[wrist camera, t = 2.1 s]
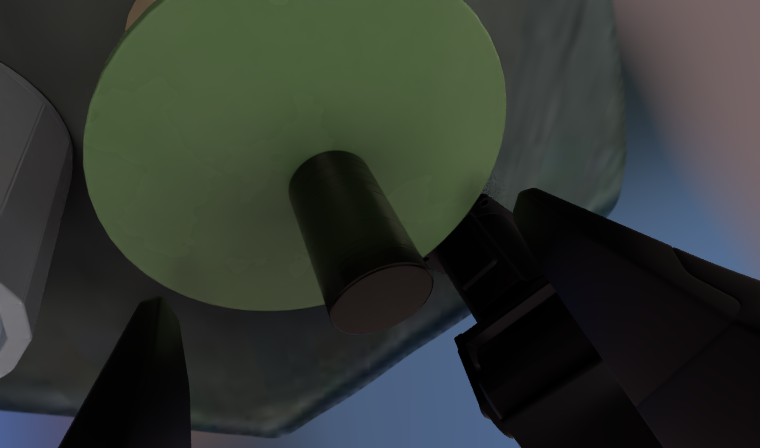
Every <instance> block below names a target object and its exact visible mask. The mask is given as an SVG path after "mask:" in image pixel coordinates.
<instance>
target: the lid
mask: <svg viewBox="0 0 760 448" xmlns="http://www.w3.org/2000/svg"><path fill="white" fill-rule="evenodd" d="M505 121H506V91H505V81H504V76H503V72H502V68H501V64H500V60H499V56H498V54H497V51H496V49H495V47H494V44H493V42H492V40H491V37H490V35H489V33H488V32H487V30H486V28H485V27H484V25H483V24H482V22H481V21H480V19H479V18H478V16H477V15H476V13H475V12H474V11H473V10H472V9H471V7H470V6H469V5H468V4H467V3H466V2H465V1H464V0H156V1H155V2H153V3H152V4H151V5H149V7H148V8H147V9H146V10H145V11H144V12H143V13H142V14H141V15H140V16H139V17H138V19H137V20H136V21H135V22H134V23H133V24H132V25H131V26H130V27H129V28H128V30H127V31H126V32H125V33H124V34H123V36H122V37H121V39H120V40H119V42H118V43H117V45H116V47H115V48H114V50H113V51H112V53H111V54H110V56H109V58H108V59H107V61H106V62H105V64H104V66H103V69H102V71H101V74H100V76H99V79H98V81H97V83H96V86H95V88H94V91H93V93H92V96H91V100H90V104H89V109H88V114H87V119H86V124H85V129H84V134H83V168H84V174H85V179H86V184H87V190H88V194H89V197H90V199H91V202H92V204H93V207H94V209H95V212H96V215H97V217H98V219H99V221H100V222H101V224H102V226H103V227H104V229H105V230H106V232H107V234H108V235H109V237H110V239H111V240H112V241H113V243H114V244H115V245H116V246H117V247H118V248H119V249H120V251H121V252H122V253H123V254H124V255H125V256H126V258H127V259H128V260H130V261H131V262H132V263H133V264H134V265H135V266H137V267H138V268H139V269H140V270H141V271H142V272H144V273H145V274H146V275H148V276H149V277H151V278H152V279H154V280H156V281H157V282H159V283H160V284H162V285H163V286H165V287H167V288H169V289H171V290H173V291H176V292H178V293H180V294H182V295H184V296H187V297H190V298H192V299H195V300H198V301H201V302H204V303H208V304H212V305H217V306H221V307H225V308H232V309H240V310H250V311H282V310H294V309H302V308H309V307H314V306H318V305H323V304H325V305H326V308H327V311H328V314H329V317H330V320H331V323H332V324H333V325H334V326H335V327H336V328H337V329H338V330H340V331H341V332H344V333H347V334H353V335H363V334H370V333H375V332H379V331H382V330H385V329H388V328H390V327H392V326H395V325H397V324H398V323H400V322H402V321H404V320H405V319H407V318H408V317H410V316H411V315H413V314H414V313H415V312H416V311H417V310H418V309H419V308H420V307H421V306H422V305H423V304H424V303H425V302H426V300H427V299H428V297H429V296H430V294H431V291H432V288H433V276H432V273H431V271H430V270H429V268H428V266H427V265H426V263H425V261H424V260H423V257H424V256H426V255H427V254H428V253H430V252H431V251H432V250H433V249H434V248H435V247H436V246H438V245H439V244H440V243H441V242H442V241H443V240H444V239H445V238H446V237H447V236H448V235H449V234H450V233H451V232H452V231H453V230H454V229H455V228H456V227H457V225H458V224H459V223H460V222H461V221H462V219H463V218H464V217H465V216H466V214H467V213H468V212H469V210H470V209H471V208H472V206H473V205H474V203H475V202H476V200H477V199H478V197H479V196H480V194H481V192H482V190H483V188H484V187H485V185H486V183H487V181H488V179H489V177H490V175H491V172H492V170H493V167H494V165H495V163H496V160H497V157H498V153H499V150H500V147H501V143H502V139H503V133H504V127H505Z"/></svg>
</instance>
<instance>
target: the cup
mask: <svg viewBox="0 0 760 448" xmlns="http://www.w3.org/2000/svg"><path fill="white" fill-rule="evenodd" d="M72 165H73V147H72V142H71V138H70V135H69V133H68V130H67V128H66V126H65V124H64V122H63V121H62V119H61V117H60V115H59V114H58V113H57V111H56V110H55V109H54V107H53V106H52V105H51V103H50V102H49V101H48V100H47V99H46V98H45V97H44V96H43V95H42V94H41V93H40V92H39V91H38V90H37V89H36V88H35V87H34V86H33V85H31V84H30V83H29V82H28V81H27V80H26V79H24V78H23V77H22V76H20V75H19V74H17V73H16V72H15V71H13V70H12V69H11V68H9V67H8V66H6V65H4V64H2V63H1V62H0V378H1V377H3V376H5V375H6V374H8V373H10V372H11V371H12V370H13V369H14V368H15V367H16V365H17V363H18V362H19V360H20V358H21V357H22V355H23V354H24V352H25V350H26V349H27V347H28V345H29V344H30V342H31V340H32V338H33V334H34V330H35V326H36V322H37V318H38V314H39V310H40V306H41V302H42V297H43V293H44V289H45V285H46V281H47V277H48V273H49V269H50V265H51V261H52V257H53V252H54V248H55V244H56V240H57V236H58V232H59V228H60V224H61V220H62V216H63V212H64V208H65V203H66V199H67V195H68V191H69V187H70V183H71V179H72V174H73V169H72Z"/></svg>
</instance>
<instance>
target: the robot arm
mask: <svg viewBox="0 0 760 448" xmlns="http://www.w3.org/2000/svg"><path fill="white" fill-rule="evenodd" d="M423 260H424V261H425V263H426V265H427V266H428V267H429V268H432V269H434V270H437V271H439V272H442V273H445V274H447V275H448V277H449V278H450V280H451V282H452V283H453V285H454V286H455V288H456V290H457V291H458V293H459V294H460V296H461V297H462V299H463V301H464V302H465V304H466V305H467V307H468V309H469V310H470V312H471V313H472V315H473V317H474V318H475V320H476V321H477V324H475V325H474V326H473V327H472V328H470V329H469V330H467V331H466V332H464V333H463V334H459V335H458V336H456V337H455V338H454V340H455V343H456V345H457V347H458V353H459V356H460V358H461V361H462V363H463V366H464V368H465V371H466V374H467V376H468V378H469V381H470V383H471V386H472V388H473V391H474V394H475V396H476V399H477V401H478V404H479V407H480V410H481V412H482V414H483V416H484V417H485V418H488V419H490V420H492V422H493V423H494V424H495V425H496V427H497V428H498V429H499V430H500V431H501V432H502V433H503V434H504V435H506V436H508V437H509V438H512V439H513V438H514V439H515V440H516V441H517V443H518V444H519V445H520V447H521V448H760V281H759V280H757V279H754V278H751V277H748V276H745V275H743V274H740V273H737V272H735V271H732V270H729V269H726V268H724V267H721V266H718V265H716V264H713V263H711V262H708V261H706V260H704V259H701V258H699V257H696V256H694V255H691V254H689V253H687V252H684V251H682V250H680V249H677V248H675V247H674V248H672V247H671V246H670V245H668V244H665V243H663V242H661V241H658V240H656V239H653V238H651V237H649V236H647V235H644V234H642V233H640V232H637V231H635V230H633V229H630V228H628V227H626V226H623V225H621V224H619V223H616V222H614V221H612V220H609V219H607V218H605V217H602V216H600V215H598V214H595V213H593V212H591V211H588V210H586V209H584V208H581V207H579V206H577V205H574V204H572V203H570V202H567V201H565V200H563V199H560V198H558V197H556V196H553V195H551V194H549V193H546V192H544V191H542V190H539V189H537V188H530V189H527V190H523V191H521V192H520V193H519V194H518V197H517V200H516V204H515V207H514V210H513V213H512V212H510V211H509V210H507V209H506V208H505V207H503V206H502V205H500V204H499V203H498V202H496V201H495V200H494V199H492V198H491V197H489V196H488V195H487V194H481V195H480V196H479V197H478V199H477V200H476V202H475V203H474V205H473V206H472V208H471V209H470V210H469V212H468V213H467V214H466V216H465V217H464V218H463V219H462V221H461V222H460V223H459V224H458V225H457V227H456V228H455V229H454V230H453V231H452V232H451V233H450V234H449V235H448V236H447V237H446V238H445V239H444V240H443V241H442V242H441V243H440V244H439V245H438V246H436V247H435V248H434V249H433V250H432V251H431V252H430V253H428V254H427V255H426V256H424V257H423ZM58 448H191V420H190V391H189V382H188V375H187V368H186V362H185V356H184V349H183V343H182V337H181V331H180V325H179V321H178V318H177V316H176V314H175V313H174V311H173V310H172V309H171V307H170V306H169V304H168V303H167V301H166V300H165V299H164V298H163V297H162V296H157V297H153V298H150V299H146V300H143V301H142V302H140V303H139V305H138V306H137V308H136V310H135V312H134V313H133V315H132V317H131V319H130V321H129V322H128V324H127V326H126V328H125V330H124V331H123V333H122V335H121V337H120V338H119V340H118V342H117V344H116V346H115V347H114V349H113V351H112V353H111V354H110V356H109V358H108V360H107V362H106V363H105V365H104V367H103V369H102V370H101V372H100V374H99V376H98V378H97V379H96V381H95V383H94V385H93V386H92V388H91V390H90V392H89V394H88V395H87V397H86V399H85V401H84V402H83V404H82V406H81V408H80V410H79V411H78V413H77V415H76V417H75V418H74V420H73V422H72V424H71V426H70V427H69V429H68V431H67V433H66V435H65V436H64V438H63V440H62V442H61V444H60V445H59V447H58Z"/></svg>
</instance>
